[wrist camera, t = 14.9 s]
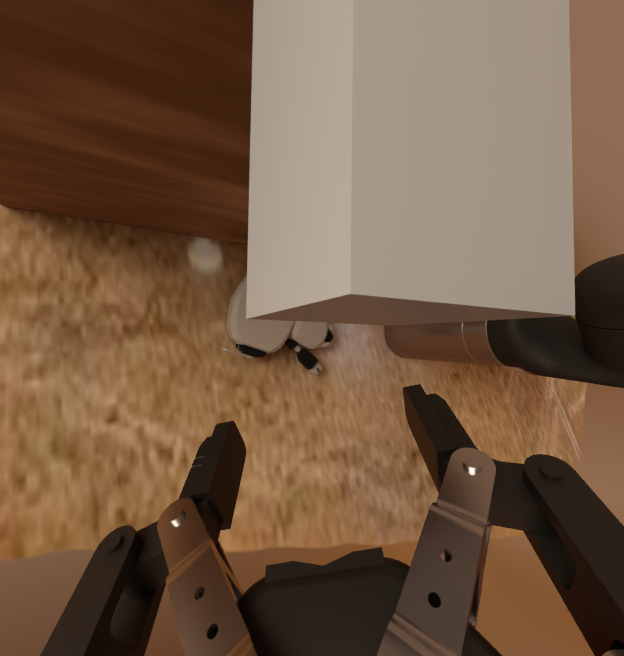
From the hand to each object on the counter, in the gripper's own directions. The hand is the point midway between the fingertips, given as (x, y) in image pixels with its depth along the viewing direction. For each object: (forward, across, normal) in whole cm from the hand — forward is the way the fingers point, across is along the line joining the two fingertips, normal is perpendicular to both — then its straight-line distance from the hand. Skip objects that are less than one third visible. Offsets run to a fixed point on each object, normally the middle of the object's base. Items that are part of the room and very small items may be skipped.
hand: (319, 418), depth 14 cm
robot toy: (+27, +6, +6) cm, 28 cm away
